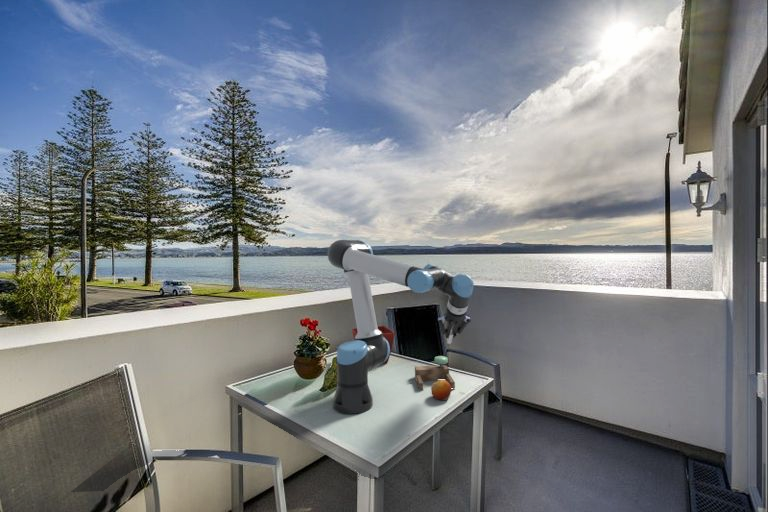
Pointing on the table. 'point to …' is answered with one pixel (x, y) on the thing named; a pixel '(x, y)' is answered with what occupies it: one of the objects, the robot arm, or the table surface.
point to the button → (441, 360)
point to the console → (431, 372)
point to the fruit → (441, 390)
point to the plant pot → (386, 334)
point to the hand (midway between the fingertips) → (448, 340)
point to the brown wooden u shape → (448, 378)
